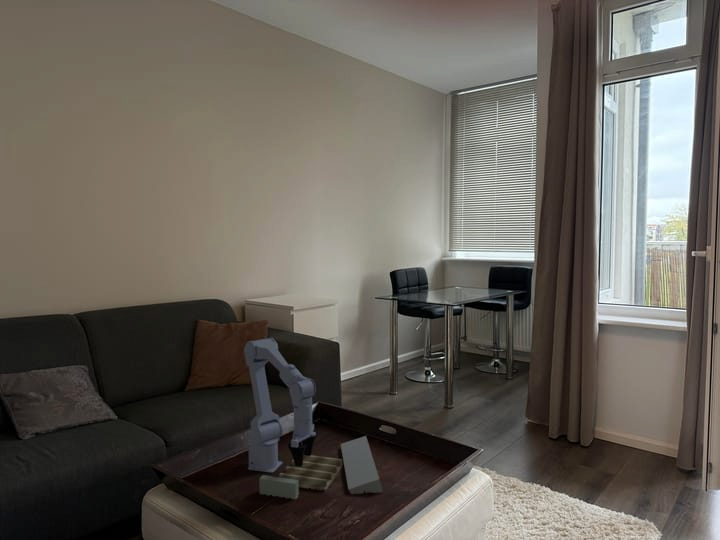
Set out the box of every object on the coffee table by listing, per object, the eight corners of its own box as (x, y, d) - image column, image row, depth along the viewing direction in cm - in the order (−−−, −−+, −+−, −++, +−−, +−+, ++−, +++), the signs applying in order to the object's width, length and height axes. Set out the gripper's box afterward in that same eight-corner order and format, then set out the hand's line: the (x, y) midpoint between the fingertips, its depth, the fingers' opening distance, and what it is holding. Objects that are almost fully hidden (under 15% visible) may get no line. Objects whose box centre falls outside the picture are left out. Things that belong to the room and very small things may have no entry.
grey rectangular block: (352, 503, 155) (383, 493, 156) (348, 489, 155) (379, 479, 156) (344, 455, 189) (369, 447, 190) (340, 444, 189) (366, 435, 189)
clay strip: (259, 494, 155) (259, 478, 155) (263, 490, 157) (263, 475, 157) (295, 499, 152) (295, 483, 152) (298, 496, 154) (298, 480, 154)
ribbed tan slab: (278, 484, 161) (278, 474, 161) (299, 461, 178) (299, 453, 177) (325, 491, 157) (325, 481, 157) (342, 467, 173) (342, 458, 173)
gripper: (306, 428, 149) (306, 472, 150) (322, 411, 163) (322, 452, 164) (284, 425, 151) (284, 469, 152) (302, 409, 165) (302, 450, 166)
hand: (303, 460), depth 158 cm, fingers open, 7 cm apart
